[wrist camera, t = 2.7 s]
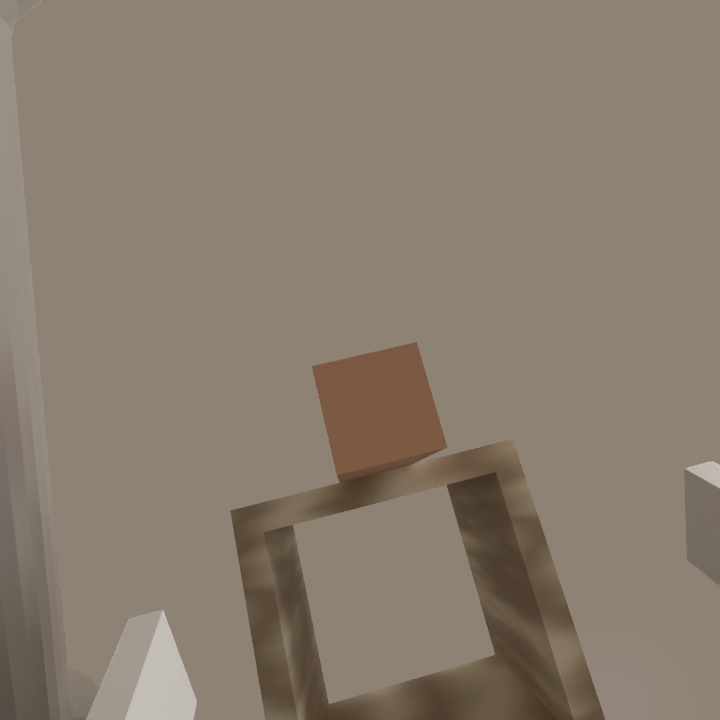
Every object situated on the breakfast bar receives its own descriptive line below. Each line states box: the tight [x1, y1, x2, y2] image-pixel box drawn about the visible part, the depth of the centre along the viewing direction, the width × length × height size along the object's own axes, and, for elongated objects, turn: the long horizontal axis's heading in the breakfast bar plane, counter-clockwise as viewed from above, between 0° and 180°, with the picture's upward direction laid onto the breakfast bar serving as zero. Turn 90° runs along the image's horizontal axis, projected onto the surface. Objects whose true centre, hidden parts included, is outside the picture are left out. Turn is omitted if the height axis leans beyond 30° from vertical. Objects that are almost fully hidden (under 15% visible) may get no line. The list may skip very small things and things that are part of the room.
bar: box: [312, 343, 447, 483], centre depth 29 cm, size 4×24×4 cm, turn 2°
